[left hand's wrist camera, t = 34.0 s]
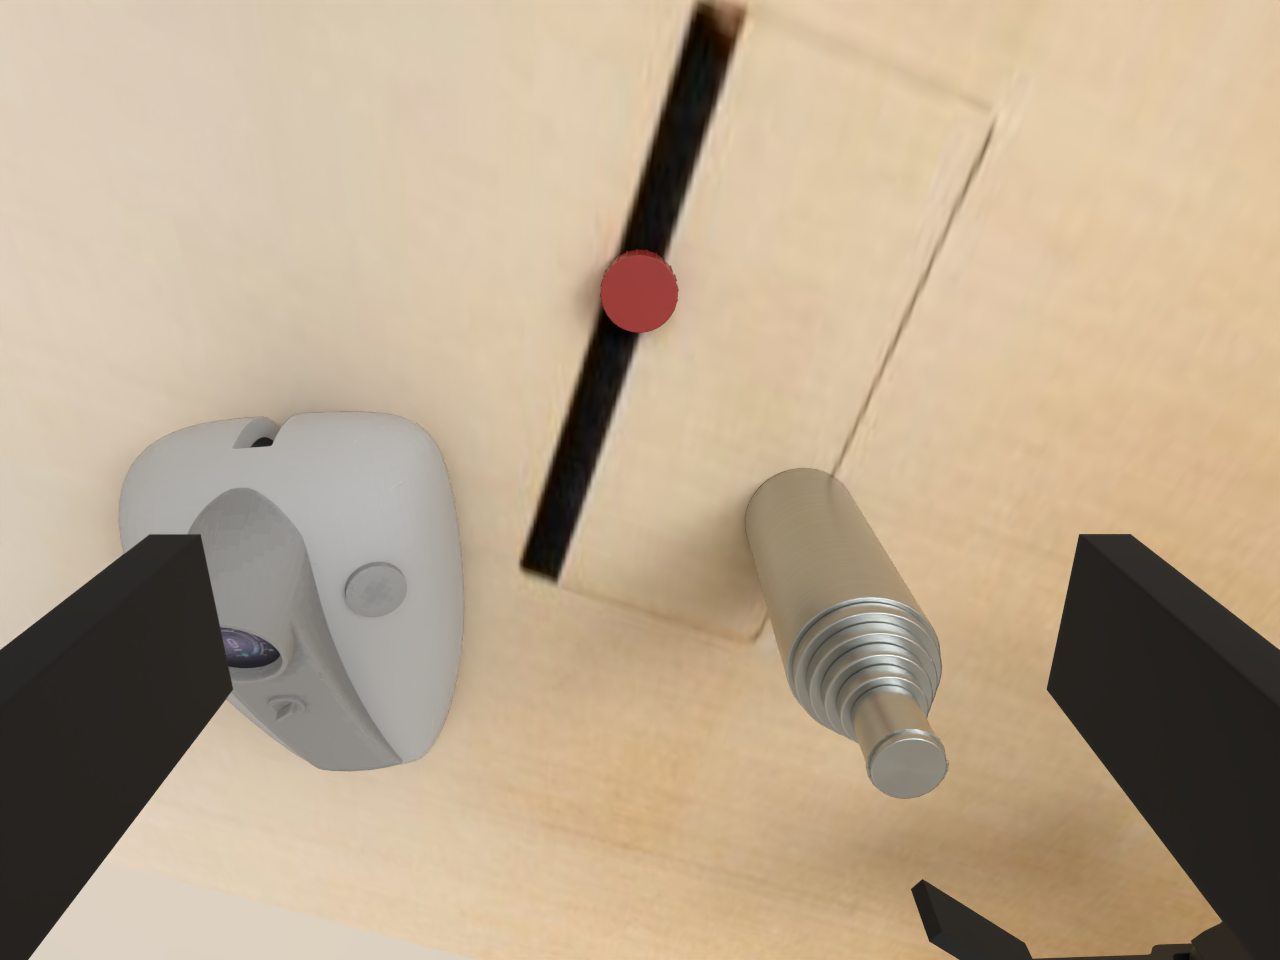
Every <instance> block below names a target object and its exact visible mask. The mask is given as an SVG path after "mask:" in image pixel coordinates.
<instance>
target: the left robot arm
mask: <svg viewBox="0 0 1280 960" xmlns="http://www.w3.org/2000/svg"><path fill="white" fill-rule="evenodd" d="M232 690H233V686H232V681H231V676H230V672H229V667H228V662H227V657H226V652H225V648H224V643H223V638H222V633H221V629H220V624H219V619H218V614H217V610H216V605H215V600H214V595H213V590H212V586H211V581H210V576H209V571H208V567H207V562H206V557H205V552H204V547H203V543H202V538H201V534H149V535H148V536H147V537H145V538H144V539H143V540H141V541H140V542H139V543H138V544H136V545H135V546H134V547H132V548H131V549H130V550H129V551H127V552H126V553H125V554H123V555H122V556H121V557H120V558H118V559H117V560H116V561H114V562H113V563H112V564H111V565H109V566H108V567H107V568H105V569H104V570H103V571H102V572H100V573H99V574H98V575H96V576H95V577H94V578H92V579H91V580H90V581H89V582H87V583H86V584H85V585H83V586H82V587H81V588H80V589H78V590H77V591H76V592H74V593H73V594H72V595H71V596H69V597H68V598H67V599H65V600H64V601H63V602H62V603H60V604H59V605H58V606H56V607H55V608H54V609H53V610H51V611H50V612H49V613H47V614H46V615H45V616H44V617H42V618H41V619H40V620H38V621H37V622H36V623H35V624H33V625H32V626H31V627H29V628H28V629H27V630H25V631H24V632H23V633H22V634H20V635H19V636H18V637H16V638H15V639H14V640H13V641H11V642H10V643H9V644H7V645H6V646H5V647H4V648H2V649H1V650H0V960H28V959H29V958H30V957H31V955H32V954H33V953H34V951H35V950H36V949H37V947H38V946H39V945H40V943H41V942H42V941H43V939H44V938H45V937H46V935H47V934H48V933H49V932H50V930H51V929H52V928H53V926H54V925H55V924H56V922H57V921H58V920H59V918H60V917H61V916H62V914H63V913H64V912H65V910H66V909H67V908H68V907H69V905H70V904H71V903H72V901H73V900H74V899H75V897H76V896H77V895H78V893H79V892H80V891H81V889H82V888H83V887H84V885H85V884H86V883H87V882H88V880H89V879H90V878H91V876H92V875H93V874H94V872H95V871H96V870H97V868H98V867H99V866H100V864H101V863H102V862H103V860H104V859H105V858H106V856H107V855H108V854H109V853H110V851H111V850H112V849H113V847H114V846H115V845H116V843H117V842H118V841H119V839H120V838H121V837H122V835H123V834H124V833H125V831H126V830H127V829H128V828H129V826H130V825H131V824H132V822H133V821H134V820H135V818H136V817H137V816H138V814H139V813H140V812H141V810H142V809H143V808H144V806H145V805H146V804H147V802H148V801H149V800H150V799H151V797H152V796H153V795H154V793H155V792H156V791H157V789H158V788H159V787H160V785H161V784H162V783H163V781H164V780H165V779H166V777H167V776H168V775H169V773H170V772H171V771H172V770H173V768H174V767H175V766H176V764H177V763H178V762H179V760H180V759H181V758H182V756H183V755H184V754H185V752H186V751H187V750H188V748H189V747H190V746H191V744H192V743H193V742H194V741H195V739H196V738H197V737H198V735H199V734H200V733H201V731H202V730H203V729H204V727H205V726H206V725H207V723H208V722H209V721H210V719H211V718H212V717H213V716H214V714H215V713H216V712H217V710H218V709H219V708H220V706H221V705H222V704H223V702H224V701H225V700H226V698H227V697H228V696H229V694H230V693H231V692H232ZM1047 690H1048V692H1049V693H1050V694H1051V696H1052V697H1053V698H1054V700H1055V701H1056V702H1057V704H1058V705H1059V706H1060V708H1061V709H1062V710H1063V712H1064V713H1065V714H1066V716H1067V717H1068V718H1069V719H1070V721H1071V722H1072V723H1073V725H1074V726H1075V727H1076V729H1077V730H1078V731H1079V733H1080V734H1081V735H1082V737H1083V738H1084V739H1085V741H1086V742H1087V743H1088V745H1089V746H1090V747H1091V748H1092V750H1093V751H1094V752H1095V754H1096V755H1097V756H1098V758H1099V759H1100V760H1101V762H1102V763H1103V764H1104V766H1105V767H1106V768H1107V770H1108V771H1109V772H1110V773H1111V775H1112V776H1113V777H1114V779H1115V780H1116V781H1117V783H1118V784H1119V785H1120V787H1121V788H1122V789H1123V791H1124V792H1125V793H1126V795H1127V796H1128V797H1129V799H1130V800H1131V801H1132V802H1133V804H1134V805H1135V806H1136V808H1137V809H1138V810H1139V812H1140V813H1141V814H1142V816H1143V817H1144V818H1145V820H1146V821H1147V822H1148V824H1149V825H1150V826H1151V828H1152V829H1153V830H1154V831H1155V833H1156V834H1157V835H1158V837H1159V838H1160V839H1161V841H1162V842H1163V843H1164V845H1165V846H1166V847H1167V849H1168V850H1169V851H1170V853H1171V854H1172V855H1173V856H1174V858H1175V859H1176V860H1177V862H1178V863H1179V864H1180V866H1181V867H1182V868H1183V870H1184V871H1185V872H1186V874H1187V875H1188V876H1189V878H1190V879H1191V880H1192V882H1193V883H1194V884H1195V885H1196V887H1197V888H1198V889H1199V891H1200V892H1201V893H1202V895H1203V896H1204V897H1205V899H1206V900H1207V901H1208V903H1209V904H1210V905H1211V907H1212V908H1213V909H1214V911H1215V912H1216V913H1217V914H1218V916H1219V917H1220V918H1221V920H1222V921H1223V922H1224V924H1225V925H1226V926H1227V928H1228V929H1229V930H1230V932H1231V933H1232V934H1233V936H1234V937H1235V938H1236V939H1237V941H1238V942H1239V943H1240V945H1241V946H1242V947H1243V949H1244V950H1245V951H1246V953H1247V954H1248V955H1249V957H1250V958H1251V959H1252V960H1280V650H1279V649H1278V648H1276V647H1275V646H1274V645H1273V644H1271V643H1270V642H1269V641H1267V640H1266V639H1265V638H1264V637H1262V636H1261V635H1260V634H1258V633H1257V632H1256V631H1255V630H1253V629H1252V628H1251V627H1249V626H1248V625H1247V624H1245V623H1244V622H1243V621H1242V620H1240V619H1239V618H1238V617H1236V616H1235V615H1234V614H1233V613H1231V612H1230V611H1229V610H1227V609H1226V608H1225V607H1224V606H1222V605H1221V604H1220V603H1218V602H1217V601H1216V600H1215V599H1213V598H1212V597H1211V596H1209V595H1208V594H1207V593H1206V592H1204V591H1203V590H1202V589H1200V588H1199V587H1198V586H1197V585H1195V584H1194V583H1193V582H1191V581H1190V580H1189V579H1188V578H1186V577H1185V576H1184V575H1182V574H1181V573H1180V572H1178V571H1177V570H1176V569H1175V568H1173V567H1172V566H1171V565H1169V564H1168V563H1167V562H1166V561H1164V560H1163V559H1162V558H1160V557H1159V556H1158V555H1157V554H1155V553H1154V552H1153V551H1151V550H1150V549H1149V548H1148V547H1146V546H1145V545H1144V544H1142V543H1141V542H1140V541H1139V540H1137V539H1136V538H1135V537H1133V536H1132V535H1131V534H1079V538H1078V543H1077V547H1076V552H1075V557H1074V562H1073V567H1072V571H1071V576H1070V581H1069V586H1068V590H1067V595H1066V600H1065V605H1064V609H1063V614H1062V619H1061V624H1060V629H1059V633H1058V638H1057V643H1056V648H1055V652H1054V657H1053V662H1052V667H1051V672H1050V676H1049V681H1048V686H1047Z"/></svg>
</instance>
